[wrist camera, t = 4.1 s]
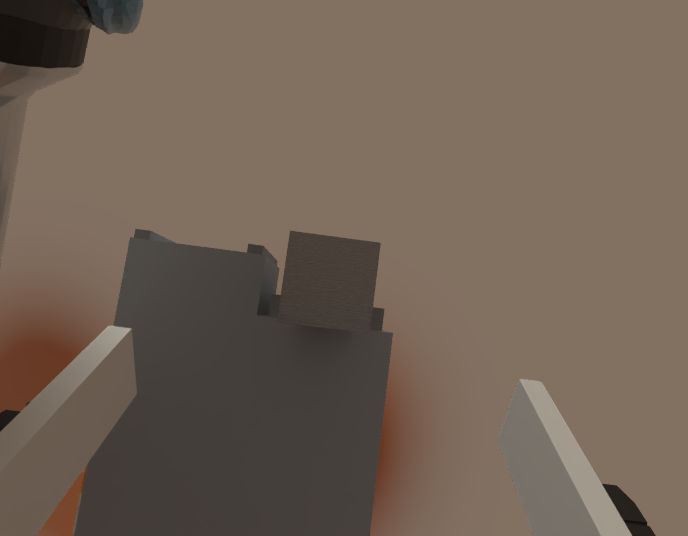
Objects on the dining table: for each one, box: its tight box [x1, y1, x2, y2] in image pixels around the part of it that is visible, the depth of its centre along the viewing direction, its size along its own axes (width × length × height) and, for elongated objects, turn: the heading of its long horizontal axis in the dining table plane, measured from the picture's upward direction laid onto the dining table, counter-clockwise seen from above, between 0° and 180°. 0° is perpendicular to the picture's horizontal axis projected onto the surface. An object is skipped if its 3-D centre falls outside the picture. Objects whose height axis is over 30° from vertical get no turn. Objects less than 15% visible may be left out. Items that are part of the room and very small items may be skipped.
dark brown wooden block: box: [277, 231, 380, 334], centre depth 31 cm, size 24×4×4 cm, turn 2°
